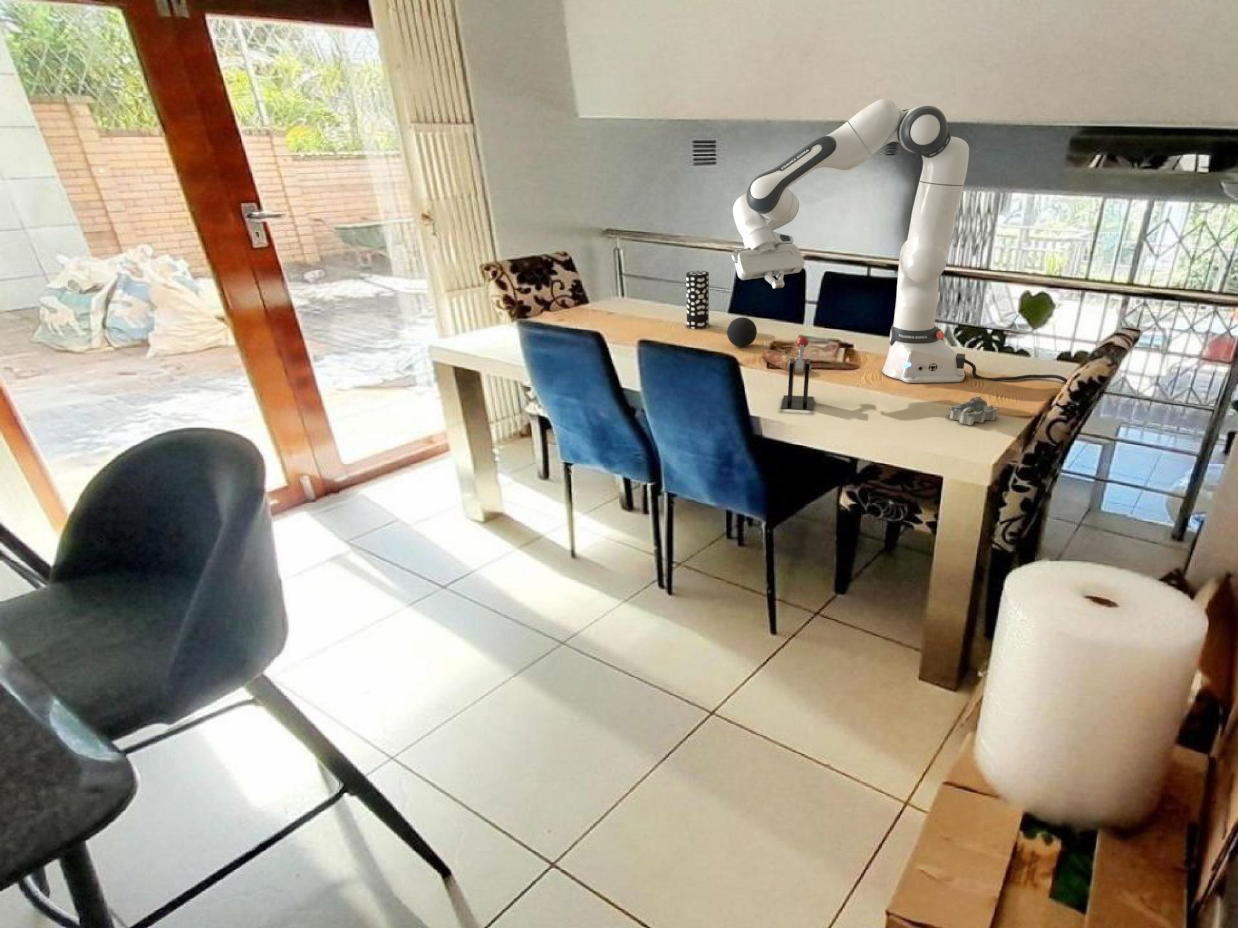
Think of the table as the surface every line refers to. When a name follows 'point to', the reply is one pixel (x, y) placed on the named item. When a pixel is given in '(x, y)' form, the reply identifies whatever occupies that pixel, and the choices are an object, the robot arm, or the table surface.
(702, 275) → the white-spotted black cylinder
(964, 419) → the grey lumpy block
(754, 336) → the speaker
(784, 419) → the table surface
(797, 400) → the bracket
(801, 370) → the lever
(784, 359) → the bread
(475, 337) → the table surface
